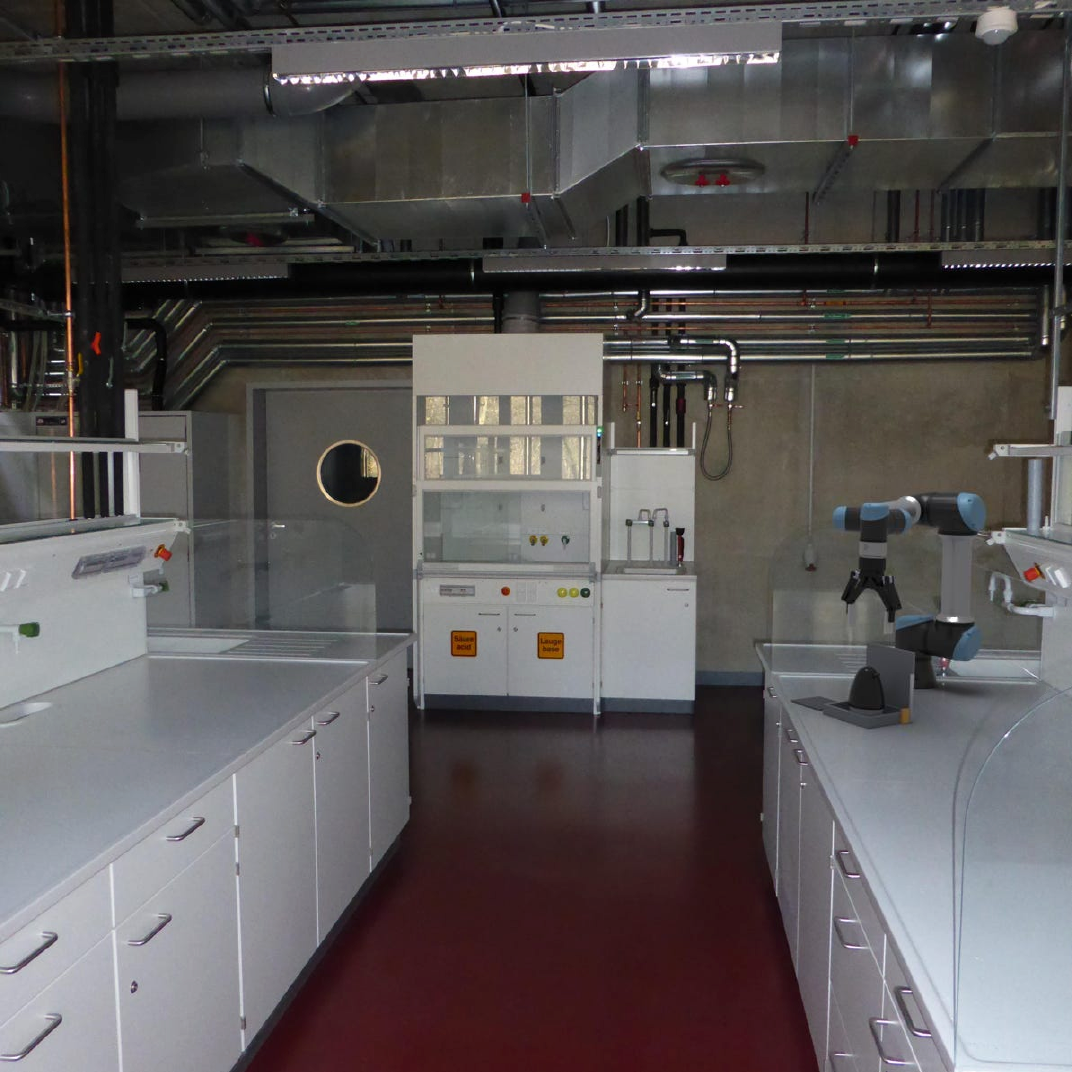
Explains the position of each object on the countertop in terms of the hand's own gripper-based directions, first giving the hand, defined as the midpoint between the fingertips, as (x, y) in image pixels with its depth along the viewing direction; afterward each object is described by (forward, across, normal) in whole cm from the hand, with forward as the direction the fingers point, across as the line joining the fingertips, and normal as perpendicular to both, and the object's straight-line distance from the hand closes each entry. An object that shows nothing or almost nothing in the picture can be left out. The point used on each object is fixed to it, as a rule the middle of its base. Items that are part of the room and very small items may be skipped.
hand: (869, 629), depth 276 cm
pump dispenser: (+26, 0, 0) cm, 26 cm away
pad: (+26, -18, -1) cm, 31 cm away
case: (+26, 0, 0) cm, 26 cm away
